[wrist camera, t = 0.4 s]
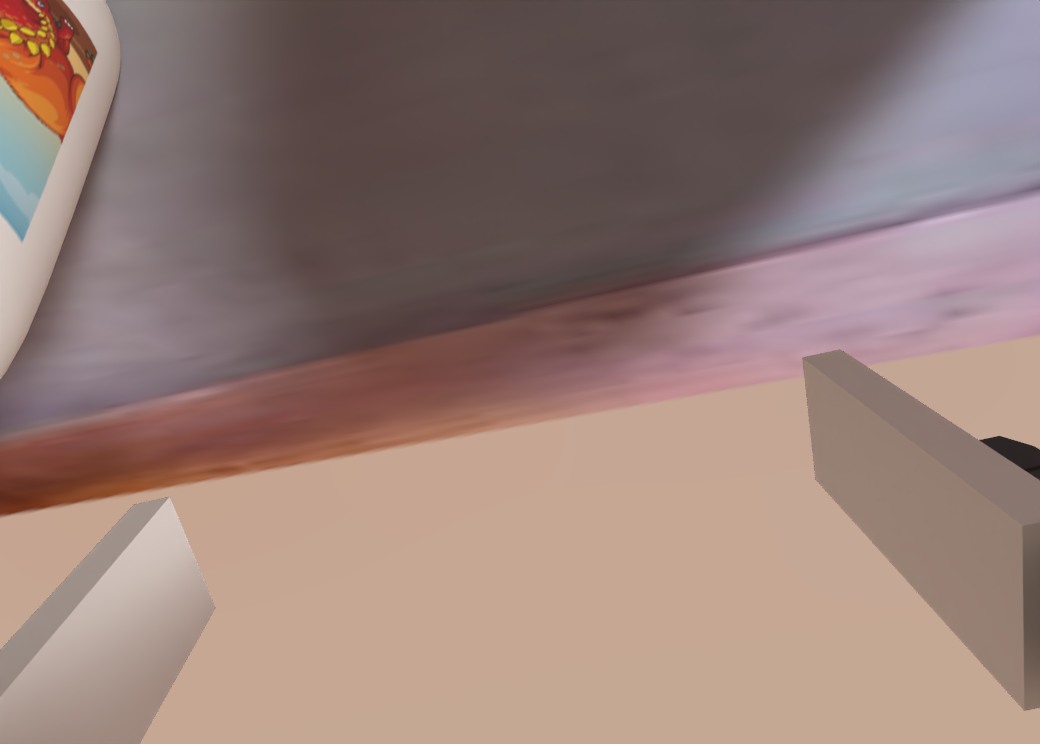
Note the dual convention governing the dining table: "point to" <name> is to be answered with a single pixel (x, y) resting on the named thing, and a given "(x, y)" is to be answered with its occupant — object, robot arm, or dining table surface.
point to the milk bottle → (46, 140)
